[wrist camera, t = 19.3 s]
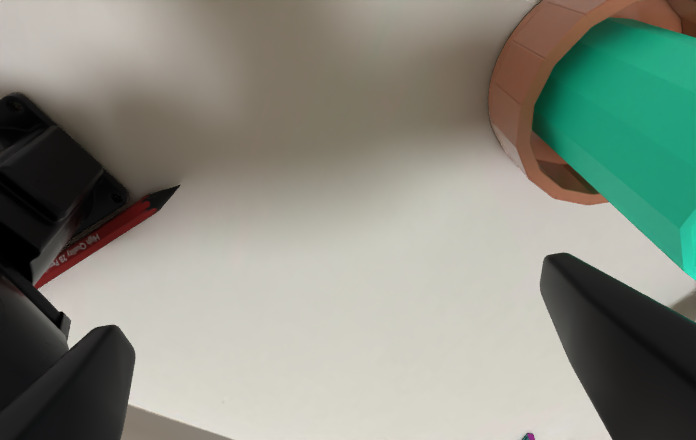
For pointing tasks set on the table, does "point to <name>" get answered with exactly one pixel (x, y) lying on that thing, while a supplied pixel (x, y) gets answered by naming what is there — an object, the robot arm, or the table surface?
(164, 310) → the table surface
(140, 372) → the table surface
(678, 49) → the candle
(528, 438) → the squeegee
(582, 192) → the candle dish
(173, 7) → the table surface
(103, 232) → the pencil
